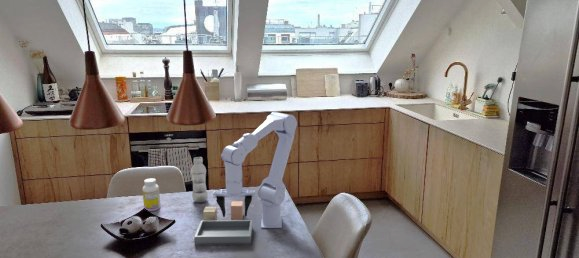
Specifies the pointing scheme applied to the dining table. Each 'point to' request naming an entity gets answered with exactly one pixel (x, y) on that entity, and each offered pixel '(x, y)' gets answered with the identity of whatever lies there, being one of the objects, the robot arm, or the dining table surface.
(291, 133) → the robot arm
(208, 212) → the beech block
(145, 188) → the supplement bottle
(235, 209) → the terracotta block
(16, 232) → the dining table surface
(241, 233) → the slate tray
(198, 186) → the plastic bottle
